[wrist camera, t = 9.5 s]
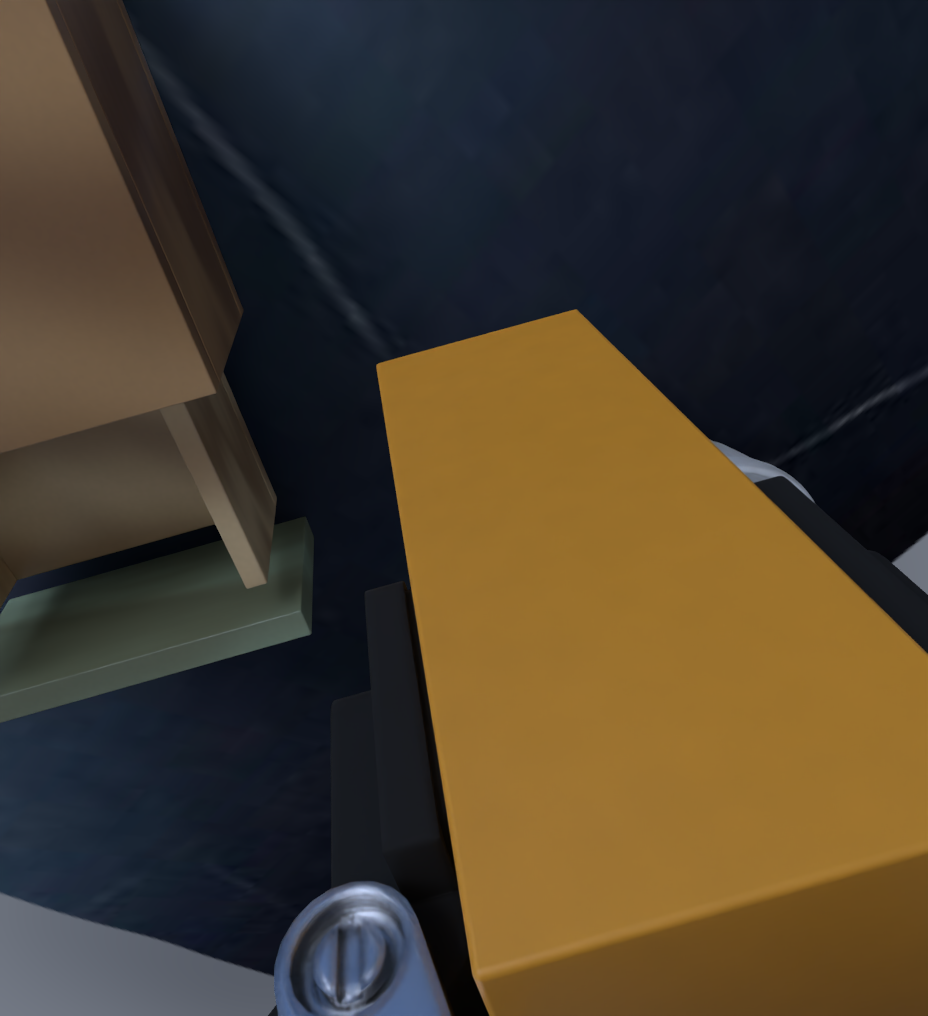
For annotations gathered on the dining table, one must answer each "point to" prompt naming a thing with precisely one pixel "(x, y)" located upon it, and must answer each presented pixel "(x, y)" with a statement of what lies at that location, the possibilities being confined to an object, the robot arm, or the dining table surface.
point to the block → (650, 702)
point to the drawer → (151, 584)
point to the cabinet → (97, 232)
